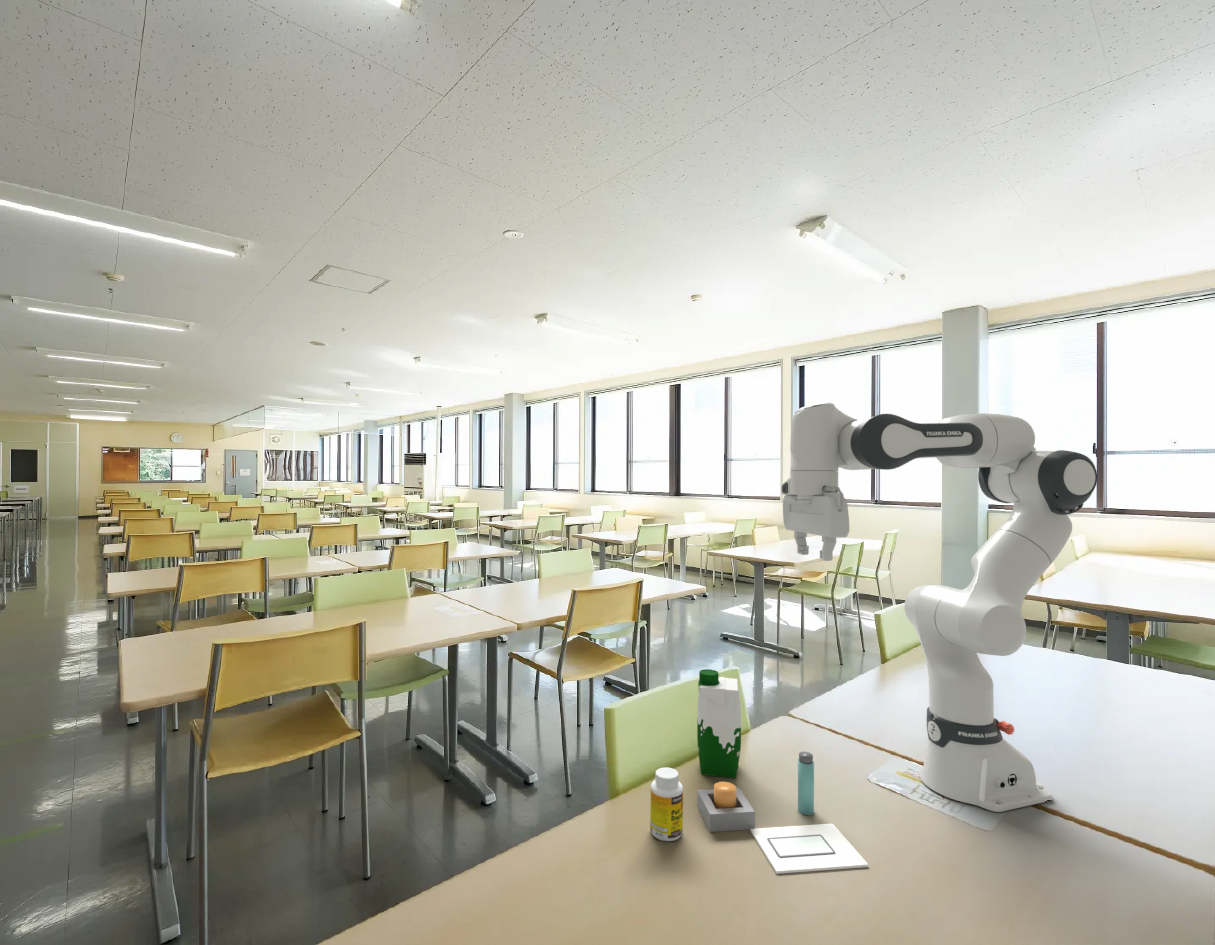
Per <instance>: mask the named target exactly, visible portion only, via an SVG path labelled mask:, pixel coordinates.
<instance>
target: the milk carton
mask: <svg viewBox="0 0 1215 945" xmlns="http://www.w3.org/2000/svg"><path fill="white" fill-rule="evenodd" d="M698 672H699V673H698V674H699V676H698V677H699V678H698V679H699V680H698V683H697V685H698V696H697V697H698V698H697V707H696V708H697V710H696V711H697V712H696V714H697V718H696V720H697V722H696V723H697V725H696V726H697V728H696V729H697V730H696V731H697V732H696V736H697V752H698V761H699V769H700V775H703V776H704V775H705V776H710V777H711V776H712V777H720V778H721V777H722V778H731V779H737V775H738V769H739V762H740V756H741V748H742V746H741V745H742V707H741V704H742V703H741V696H740V690H739V689H740V688H739V682H738V678H732V677H731V678H730V677H724V676H720V675H719V671H717V670H716V669H701V670H700V671H698Z"/></svg>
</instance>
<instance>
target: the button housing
mask: <svg viewBox="0 0 1215 945" xmlns="http://www.w3.org/2000/svg"><path fill="white" fill-rule="evenodd" d="M736 788H737V797H736V808H723V809H716V808H715V806H714V788H709V789H697V791H696V793H697V794H696V798H697V799H696V800H697V801H696V803H697V804H696V806H697V809H698V811H699V813H700V815H701V817H702V819H703V820H704V823H705V825H706V827H707V829H708V831H709V833H714V832H716V833H718V832H731V831H745V830H749V831H750V829H755V828H756V818H755V817H756V811H755V809H754V808H753V806H752V805H751V804H750V801H749V800H748V799H747V797H746V796H745V795H744V793H743V791H742V790H741V788H740V787H736Z"/></svg>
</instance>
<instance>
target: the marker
mask: <svg viewBox="0 0 1215 945" xmlns="http://www.w3.org/2000/svg"><path fill="white" fill-rule="evenodd" d="M813 759H814V754H813V753H811V752H808V751H800V752H799V753H798V759H797V812H799V814H802V815H806V816H812V815H814V813H815V761H814V760H813Z"/></svg>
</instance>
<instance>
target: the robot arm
mask: <svg viewBox="0 0 1215 945" xmlns="http://www.w3.org/2000/svg"><path fill="white" fill-rule="evenodd" d="M792 416H793V417H792V421H791V428H790V429H791V430H790V446H789V447H790V452H791V456H792V457H791V458H792V461H791V462H792V463H791V466H790V472H789V473H790V475H789V476H790V477H788V479H787V480H786V481H784V483H782V484H781V486H780V493H781V495H782V496H783V498H782V518H783V519H782V520H783V525H784V528H785V530H786V531H792V532H793V537H794V541H795V544H796V545H797V546H796V548H797V549H796V553H797V554H798V555H801V556H805V555H806V556H807V555H809V552H810V551H809V550H810V546H809V545H808V543H807V539H806V537H807V536H808V535H815V536H820V537H821V542H823V543H822V548H821V550H819V559H820V560H821V561H824V562H827V561H828V562H831V561H833V552H834V550H835V547H836V544H837V538H848V536H849V533H850V515H849V514H850V513H849V506H848V503H847V499H846V498H845V496H844V492H842V490H841V488H840V487H839V468H841V469H843V470H849V471H859V470H862V471H865V470H884V471H885V470H886V471H887V470H895V469H898V468H901V467H902V466H904V465H906V464H908V463H909V462H911V461H913V460H916V459H921V458H936V459H937V460H938V462H939V463H940V464H942V465H943V466H948V467H953V468H962V469H963V468H964V469H978V472H977V473H978V475H977V476H978V477H977V478H978V485H979V488H980V490H981V492H982V494H984V496H986V497H987V498H988V499H991V500H993V501H996V502H999V503H1002V504H1003V503H1004V504H1013V508H1012V510H1011V513H1010V515H1009V517H1008V518H1007V519H1006V520H1005V521H1004V522H1003V523H1002V524H1000V526H999V527H998V528H997V529H996V530H995V531H994V532H993V533H992V534H991V536H989V538H988V539H987V540H986V541H985V543H984V544H982V546H980V548H979V549H977V551H976V553H974V554H973V556H972V557H971V559H970V565H971V569H972V571H973V577H972V580H971V581H970V583H969V584H968V585H967V586H966V587H965V588H963V589H961V588H956V587H952V586H947V585H943V584H923V585H922V584H921V585H918V586H916V587H915V588H913V589H911V590H910V591H909V593H908V594H907V596H906V598H905V601H904V612H905V616H906V618H907V619H908V621H909V622H910V623H911V625H912V627H914V629H915V632H916V634H917V637H918V639H919V642H920V645H921V648H922V651H923V654H924V656H923V657H924V658H925V659H924V660H925V662H926V667H927V676H928V677H927V678H928V705H929V706H928V707H927V708H926V731H927V732H926V733H927V737H928V738H927V746H926V753H925V758H924V761H923V762H924V763H923V766H922V769H921V772H920V775H919V777H920V780H921V781H922V782H923V784H924V785H925V786H926V787H927V788H929V789H930V790H933V791H934V792H935V793H938V794H940V795H942V796H944V797H946V798H949V799H951V800H954V801H957V802H958V801H959V802H961V803H965V804H970V805H973V806H978V807H980V808H983V809H984V810H985V809H986V810H988V811H991V812H995V813H1001V812H1006V811H1010V810H1015V809H1020V808H1024V807H1028V806H1033V805H1037V804H1038V805H1039V804H1041V803H1046V802H1045V801H1047V800H1051V801H1053V797H1052V793H1051V792H1050V790H1049V789H1048V788H1047V787H1045V785H1043V784H1042V783H1040V782H1039V781H1038V780H1037V779H1036V778H1037V776H1036V771H1035V768H1034V766H1033V764H1032V762H1031V760H1030V759H1029V758H1028V757H1027V756H1025V754H1024V753H1022V752H1021V751H1020V750H1018V749H1017V748H1016V747H1014V746H1013V745H1012V744H1011V743H1010V742H1009V741H1007V740H1006V739H1004V737H1003V734H1002V732H1003V733H1005V734H1006V735H1009V736H1010V735H1014V733H1015V727H1014V725H1013V724H1012V723H1009V722H1007V721H1006V720H1001V721H999V719H997V718H996V717H994V716H995V714H994V713H995V712H994V711H995V708H994V706H995V705H994V704H995V703H994V699H995V698H994V681H993V679H992V676H991V675H990V673H989V672H988V670H987V669H986V668H985V666H984V665H983V663H982V662H981V660H980V658H979V656H978V654H980V655H981V654H982V655H989V656H996V657H1005V656H1006V657H1008V656H1011V655H1012V654H1015V653H1016V652H1018V651H1019V649H1020V648H1021V647H1022V646H1023V644H1024V642H1025V641H1026V637H1027V624H1026V621H1025V618H1024V616H1023V614H1022V606H1023V604H1024V601H1025V598H1026V596H1027V595H1028V593H1029V591H1031V589H1032V588H1033V586H1034V585H1035V584H1036V582H1038V580H1039V579H1040V578H1041V576H1043V574H1044V573H1045V572H1046V571H1047V570H1048V568H1049V567H1050V566H1051V565H1052V564H1053V563H1054V562H1055V560H1056V559H1057V557H1059V555H1060V553H1061V552H1062V550H1063V549H1064V547H1065V545H1066V543H1068V542H1067V541H1068V540H1069V538H1070V537H1071V534H1072V531H1073V522H1072V520H1071V518H1070V517H1069V515H1071V514H1074V513H1076V512H1078V511H1080V510H1081V509H1082V508H1083V506H1084V503H1085V502H1087V501H1088V500H1089V498H1091V496H1092V494H1093V492H1094V491H1095V488H1096V486H1097V485H1098V484H1097V483H1098V471H1097V469H1096V465H1095V463H1094V462H1093V461H1092V460H1091V458H1090V457H1088V456H1087V455H1085V454H1083V453H1080V452H1076V451H1071V450H1064V449H1062V450H1060V449H1058V450H1037V448H1036V447H1035V443H1036V435H1035V431H1034V429H1033V427H1032V426H1031V424H1030V423H1029V422H1028V421H1026V420H1025V419H1023V418H1021V417H1018V416H1014V415H1013V416H1012V415H1007V414H1000V413H999V414H998V413H985V412H984V413H983V412H982V413H966V414H959V415H958V414H957V415H954V416H953V415H952V416H949V417H945V418H942V419H941V420H939V421H938V422H937V423H936V422H934V423H933V422H931V423H929V422H928V423H927V422H925V423H918V422H915V421H911V420H909V419H906V418H904V417H902V416H899V415H897V414H892V413H880V414H877V415H874V416H872V417H871V416H870V417H868V418H864V419H860V420H859V419H857V418H853V417H851V416H849V415H847V414H845V413H844V412H842V411H841V410H840V409H838V408H837V407H836V405H835V403H831V402H821V403H819V402H818V403H814V404H810V405H806V406H802V407H800V408H798V409H797V410H796V411H795V412H794V413H793V415H792ZM1047 802H1048V801H1047Z"/></svg>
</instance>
